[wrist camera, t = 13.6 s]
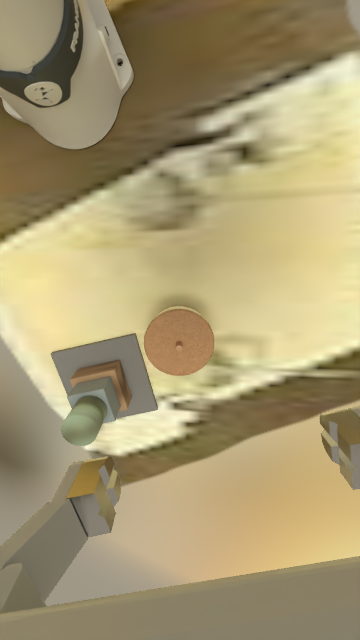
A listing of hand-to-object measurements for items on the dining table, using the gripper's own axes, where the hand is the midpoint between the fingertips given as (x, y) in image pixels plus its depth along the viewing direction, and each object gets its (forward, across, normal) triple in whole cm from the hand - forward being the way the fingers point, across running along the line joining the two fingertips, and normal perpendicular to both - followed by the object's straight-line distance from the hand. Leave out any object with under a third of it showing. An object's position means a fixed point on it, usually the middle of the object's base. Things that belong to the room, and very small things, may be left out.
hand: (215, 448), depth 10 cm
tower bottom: (+34, +19, +13) cm, 41 cm away
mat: (+35, +19, +13) cm, 42 cm away
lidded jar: (+35, +3, +6) cm, 36 cm away
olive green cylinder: (+26, +19, +13) cm, 35 cm away
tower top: (+30, +19, +13) cm, 38 cm away
